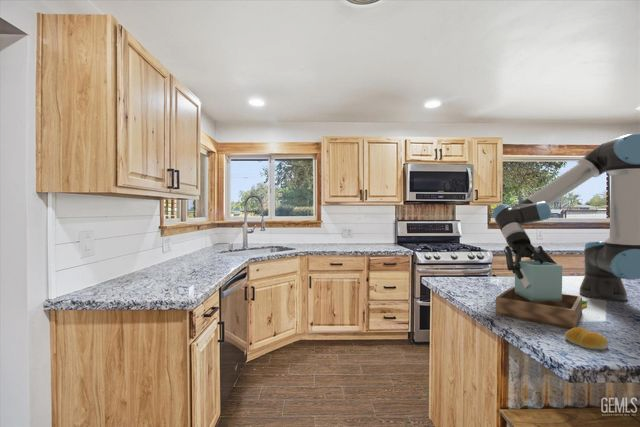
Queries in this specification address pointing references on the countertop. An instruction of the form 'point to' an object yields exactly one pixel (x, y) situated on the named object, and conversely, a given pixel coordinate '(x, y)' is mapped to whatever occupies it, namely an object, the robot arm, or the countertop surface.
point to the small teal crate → (540, 281)
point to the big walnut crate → (540, 309)
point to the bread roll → (586, 338)
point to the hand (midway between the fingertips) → (543, 286)
